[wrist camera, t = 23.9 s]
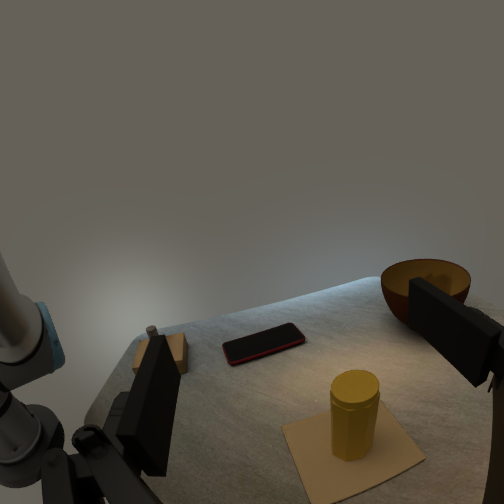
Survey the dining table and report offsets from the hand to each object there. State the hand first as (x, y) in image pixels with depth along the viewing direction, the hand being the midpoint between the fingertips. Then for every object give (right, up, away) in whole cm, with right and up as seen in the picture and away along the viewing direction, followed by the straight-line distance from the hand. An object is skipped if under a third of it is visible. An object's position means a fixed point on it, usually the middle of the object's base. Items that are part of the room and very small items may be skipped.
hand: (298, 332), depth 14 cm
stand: (-20, -18, +39) cm, 48 cm away
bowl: (+31, -10, +34) cm, 47 cm away
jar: (+10, -19, +14) cm, 25 cm away
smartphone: (0, -14, +40) cm, 42 cm away
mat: (+10, -20, +14) cm, 26 cm away
